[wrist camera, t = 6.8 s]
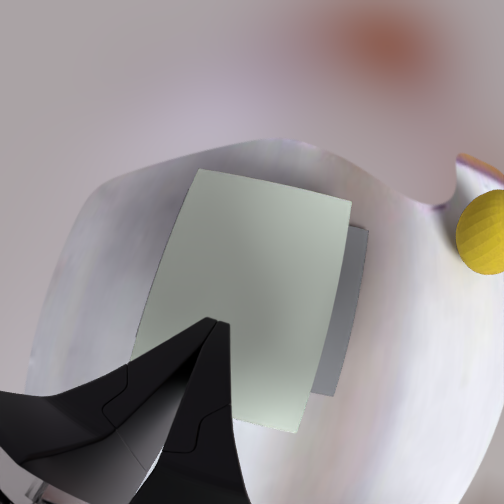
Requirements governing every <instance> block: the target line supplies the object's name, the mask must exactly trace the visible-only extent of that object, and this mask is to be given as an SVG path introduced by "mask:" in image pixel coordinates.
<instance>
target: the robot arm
mask: <svg viewBox="0 0 504 504" xmlns="http://www.w3.org/2000/svg"><path fill="white" fill-rule="evenodd" d="M231 404H232V398H231V339H230V324H229V323H227V322H223V321H218V320H216V319H214V318H210V317H205V318H203V319H201V320H200V321H198V322H196V323H195V324H193V325H191V326H190V327H188V328H186V329H185V330H183V331H181V332H180V333H178V334H176V335H175V336H173V337H171V338H170V339H168V340H166V341H165V342H163V343H161V344H159V345H158V346H156V347H154V348H153V349H151V350H149V351H148V352H146V353H144V354H142V355H141V356H139V357H137V358H135V359H134V360H132V361H130V362H128V364H125V365H123V366H121V367H119V368H118V369H116V370H114V371H112V372H110V373H108V374H106V375H104V376H102V377H100V378H98V379H95V380H93V381H91V382H88V383H86V384H83V385H81V386H78V387H76V388H73V389H71V390H68V391H65V392H63V393H60V394H57V395H53V396H44V397H41V396H31V395H23V394H16V393H10V392H4V391H0V504H251V502H250V499H249V497H248V494H247V491H246V488H245V484H244V480H243V476H242V472H241V467H240V463H239V458H238V454H237V449H236V444H235V438H234V432H233V421H232V405H231ZM163 445H164V447H163ZM162 447H163V449H162ZM161 449H162V453H161V455H160V457H159V460H158V462H157V464H156V466H155V468H154V469H153V471H152V472H151V474H150V475H149V476H148V478H147V479H146V481H145V482H144V483H143V485H142V486H141V487H140V489H139V490H138V488H139V486H140V485H141V483H142V481H143V480H144V478H145V476H146V475H147V473H146V472H148V471H149V469H150V468H151V466H152V464H153V463H154V461H155V459H156V457H157V456H158V454H159V452H160V450H161ZM137 490H138V491H137ZM136 491H137V493H136ZM135 493H136V494H135ZM134 495H135V496H134ZM133 496H134V497H133Z"/></svg>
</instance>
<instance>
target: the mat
mask: <svg viewBox="0 0 504 504" xmlns="http://www.w3.org/2000/svg"><path fill="white" fill-rule="evenodd" d="M188 191H189V189H188ZM187 194H188V192H187ZM187 194H186V196H187ZM186 196H185V198H186ZM184 201H185V199H184ZM184 201H183V203H184ZM182 206H183V204H182ZM182 206H181V208H182ZM181 208H180V211H181ZM180 211H179V213H180ZM179 213H178V215H179ZM177 218H178V216H177ZM177 218H176V220H177ZM175 223H176V221H175ZM175 223H174V225H175ZM173 228H174V226H173ZM173 228H172V231H173ZM172 231H171V233H172ZM171 233H170V236H171ZM368 233H369V231H368V230H364V229H361V228H357V227H353V226H350V225H348V232H347V238H346V244H345V250H344V256H343V261H342V266H341V272H340V277H339V282H338V287H337V291H336V296H335V301H334V305H333V310H332V314H331V318H330V322H329V327H328V331H327V335H326V339H325V342H324V346H323V350H322V354H321V357H320V361H319V365H318V368H317V372H316V375H315V378H314V382H313V385H312V388H311V391H310V392H312V393H317V394H322V395H327V396H334V393H335V390H336V387H337V383H338V380H339V376H340V373H341V369H342V366H343V362H344V358H345V354H346V351H347V347H348V343H349V338H350V334H351V330H352V326H353V321H354V316H355V312H356V307H357V302H358V297H359V291H360V286H361V280H362V274H363V268H364V262H365V255H366V248H367V241H368ZM170 236H169V238H170ZM168 241H169V239H168ZM168 241H167V244H168ZM167 244H166V246H167ZM165 249H166V247H165ZM165 249H164V252H165ZM164 252H163V254H164ZM162 257H163V255H162ZM162 257H161V260H162ZM161 260H160V263H161ZM160 263H159V265H160ZM158 268H159V266H158ZM157 271H158V269H157ZM157 271H156V274H157ZM156 274H155V277H156ZM155 277H154V280H155ZM154 280H153V283H154ZM153 283H152V286H153ZM152 286H151V289H152ZM151 289H150V292H151ZM150 292H149V295H150ZM149 295H148V298H149ZM148 298H147V301H148ZM147 301H146V304H147ZM146 304H145V307H146ZM145 307H144V310H145ZM143 313H144V311H143ZM142 317H143V314H142ZM142 317H141V320H142ZM141 320H140V323H141ZM139 327H140V324H139ZM139 327H138V330H139ZM138 330H137V333H138ZM136 337H137V334H136Z"/></svg>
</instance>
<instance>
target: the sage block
mask: <svg viewBox="0 0 504 504" xmlns="http://www.w3.org/2000/svg"><path fill="white" fill-rule="evenodd" d="M351 204H352V202H351V201H348V200H344V199H340V198H336V197H333V196H329V195H325V194H321V193H317V192H313V191H309V190H305V189H300V188H296V187H292V186H287V185H283V184H278V183H274V182H269V181H264V180H260V179H255V178H250V177H245V176H239V175H234V174H229V173H223V172H217V171H212V170H206V169H198V171H197V173H196V175H195V178H194V180H193V182H192V184H191V187H190V189H189V191H188V194H187V196H186V198H185V201H184V203H183V206H182V208H181V211H180V213H179V215H178V218H177V220H176V223H175V225H174V228H173V231H172V233H171V236H170V238H169V241H168V244H167V246H166V249H165V252H164V254H163V257H162V260H161V263H160V265H159V268H158V271H157V274H156V277H155V280H154V283H153V286H152V289H151V292H150V295H149V298H148V301H147V304H146V307H145V310H144V313H143V317H142V320H141V323H140V327H139V330H138V333H137V337H136V340H135V344H134V348H133V351H132V355H131V359H130V361H132V360H134V359H135V358H137V357H139V356H141V355H142V354H144V353H146V352H148V351H149V350H151V349H153V348H154V347H156V346H158V345H159V344H161V343H163V342H165V341H166V340H168V339H170V338H171V337H173V336H175V335H176V334H178V333H180V332H181V331H183V330H185V329H186V328H188V327H190V326H191V325H193V324H195V323H196V322H198V321H200V320H201V319H203V318H205V317H210V318H214V319H216V320H218V321H223V322H227V323H229V324H230V339H231V398H232V404H231V405H232V418H234V419H238V420H241V421H245V422H248V423H252V424H256V425H260V426H264V427H268V428H272V429H277V430H281V431H286V432H291V433H297V430H298V428H299V425H300V422H301V419H302V416H303V413H304V410H305V407H306V404H307V401H308V398H309V395H310V391H311V388H312V385H313V382H314V378H315V375H316V372H317V368H318V365H319V361H320V357H321V354H322V350H323V346H324V342H325V339H326V335H327V331H328V327H329V322H330V318H331V314H332V310H333V305H334V301H335V296H336V291H337V287H338V282H339V277H340V272H341V266H342V261H343V256H344V250H345V244H346V238H347V232H348V225H349V218H350V211H351Z"/></svg>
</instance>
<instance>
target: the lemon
mask: <svg viewBox="0 0 504 504" xmlns="http://www.w3.org/2000/svg"><path fill="white" fill-rule="evenodd" d="M456 245H457V249H458V252H459V254H460V257H461V258H462V260H463V262H464V263H465V264H466V265H467V266H468V267H469V268H470V269H472V270H473V271H475V272H477V273H480V274H484V275H493V274H498V273H501V272H503V271H504V190H492V191H489V192H487V193H484V194H482V195H480V196H478V197H477V198H475V199H474V200H473V201H472V202H471V203H470V204H469V205H468V206H467V207H466V209H465V210H464V211H463V212H462V214H461V216H460V219H459V221H458V224H457V229H456Z"/></svg>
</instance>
